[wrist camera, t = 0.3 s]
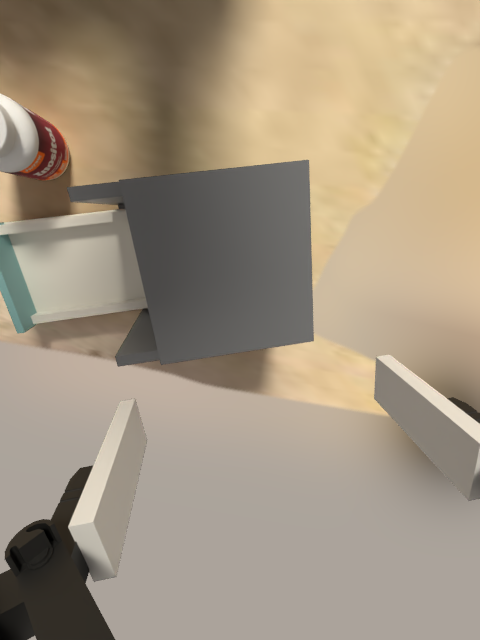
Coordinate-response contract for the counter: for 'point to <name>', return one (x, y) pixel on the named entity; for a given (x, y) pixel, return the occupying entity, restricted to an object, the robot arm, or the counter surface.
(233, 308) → the housing
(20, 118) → the pill bottle
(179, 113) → the counter surface
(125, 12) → the counter surface
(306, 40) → the counter surface
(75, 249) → the tray
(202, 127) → the counter surface
